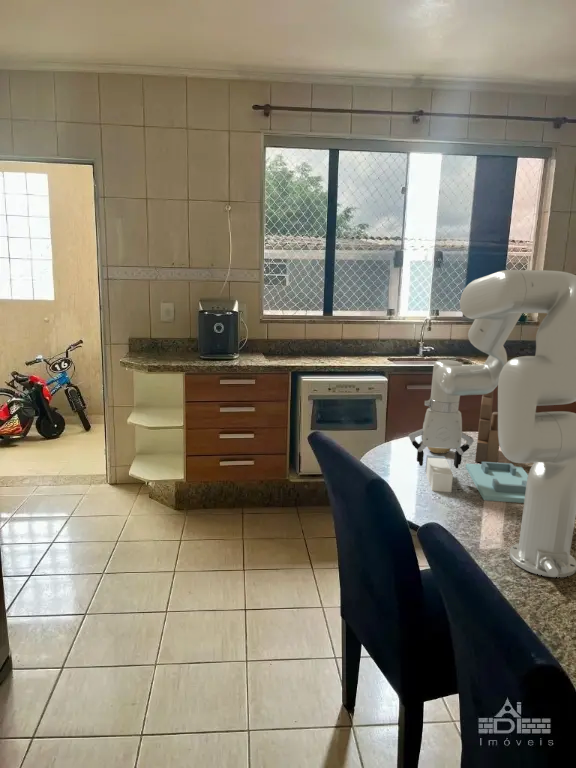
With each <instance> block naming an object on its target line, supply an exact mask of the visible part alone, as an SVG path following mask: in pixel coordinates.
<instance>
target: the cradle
mask: <svg viewBox="0 0 576 768" xmlns="http://www.w3.org/2000/svg"><path fill="white" fill-rule="evenodd" d="M465 470H466V471H467V473H468V474H469V476H470V478H471V480H472V481H473V484H474V485H475V487H476V488H477V490H478V493H479V494H480V496H481V498H482V500H483V501H488V502H489V501H493V502H503V503H504V502H505V503H506V502H507V503H519V504H521V503H522V504H524V500H525V492H526V484H527V478H528V474H529V473H528V472H526V470H524V468H523V466H515V465H514V464H513V462H512V463H510V462H509V463H508V462H482V463H465Z"/></svg>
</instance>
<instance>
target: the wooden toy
mask: <svg viewBox="0 0 576 768" xmlns="http://www.w3.org/2000/svg"><path fill="white" fill-rule="evenodd" d="M494 390H495V389H494ZM494 390H493V391H492V392H490V393H488V394H483V395H482V396H481V401H480V402H481V405H480V413H479V422H478V431H477V440H476V441H477V442H476V449H475V450H476V451H475V463H479V464H482V462H497V463H499V462H498V461H499V453H500V445H499V440H498V411H492V410H493V401H494V392H495V391H494Z"/></svg>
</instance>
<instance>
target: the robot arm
mask: <svg viewBox="0 0 576 768" xmlns="http://www.w3.org/2000/svg"><path fill="white" fill-rule="evenodd" d="M459 308H460V311H461V313H462V315H463V316H464V317H465V318H468V319H471V320H473V322H472V324H471V325H470V328H469V329H468V331H467V332H468V333H467V337H468V340H469V342H470V344H471V345H472V346H473V347H474V348H476V349H477V350H479V351H480V352H482V353H485V354H486V355H488V356H487V358H486V360H485V362H484V363H483V364H482V365H471V364H470V365H463V364H462V363H461V362H459V361H457V360H454V359H439V360H436V361H435V362H434V364H433V367H432V378H431V379H432V380H431V390H430V391H431V392H430V397H429V399H428V400H424V406H426V407H428V408H427V409H426V412H425V414H424V419H423V424H422V428H421V429H417V430H415V431H413V432H410V433H408V438H409V440H410V442H411V444H412V446H413V447H414V448H415V449H416V450H417V453H416V462H418V463H419V464H418V465H419V466H420V467H423V465H424V454H425V452H424V449H426V448H428V447H432V448H446V449H450V450H455V452H454V458H453V466H454V467H455V469H459V466H460V465H461V463H462V458H463V457H462V456H463V455H464V453H465V452H466V451H467V450H469V449H470V447H471V446H472V445H473V442H474V441H475V439H474V438H473V437H471V436H470V435H468V434H466V433H465V432H463V417H462V412H461V411H460V410H459V407H460V398H461V396H477V395H484V394H488V393H490V392H492V391H493V390H495V389H496V388H497V412H498V440H499V450H500V451H501V453H502V455H503V456H504V458H506V459H507V460H508V461H509V462H512V463H516V464H532V465H531V467H530V469H529V472H528V473H527V474H528V478H527V484H526V492H525V500H524V503H523V510H522V517H521V518H522V519H521V523H520V524H521V526H520V533H519V541H518V542H517V543H515V544H513V545H511V547H510V549H509V557H510V559H511V561H512V562H513V563H514V564H515V565H516V566H518V567H519V568H521V569H523V570H525V571H527V572H528V573H529V572H530V573H532V574H534V575H537V574H538V576H541V575H542V577H547V578H556V577H557V578H559V577H560V578H567V576H568V577H570V576H572V575H574V574H575V573H576V558H575V557H573V556H572V554H571V549H572V543H573V542H572V541H573V537H574V528H575V523H576V413H575V412H571V411H564V410H563V411H560V410H559V411H541V412H537V406H539V407H540V406H554V405H555V406H556V405H557V406H558V405H569V404H572V403H574V402H575V403H576V274H573V273H570V272H567V271H560V270H545V269H541V270H540V269H535V270H531V269H528V270H526V269H507V270H506V269H505V270H499V271H496V272H494V273H491V274H488V275H485V276H482V277H479V278H475V279H473V280H472V281H471V282H469V283H468V284H467V285H466V286H465V288H464V289H463V291H462V293H461V296H460V300H459ZM522 314H546V315H545V317H544V318H543V319H542V320H541V323H540V325H539V326H538V329H537V330H536V334H535V355H524V356H518V357H513V358H511V359H509V360H508V354H507V350H506V348H505V347H504V345H505V343H506V341H507V340H508V339H509V336H510V334H511V333H512V332H513V331H514V328H515V326H516V325H517V323H518V321H519V320H520V318H521V316H522ZM493 392H494V391H493ZM417 437H421V441H420V442H419V443H418V441H417V440H416V438H417ZM462 439H463V440H465V443H463V444H462ZM557 578H556V579H557Z"/></svg>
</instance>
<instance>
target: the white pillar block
mask: <svg viewBox="0 0 576 768" xmlns="http://www.w3.org/2000/svg"><path fill="white" fill-rule="evenodd" d="M424 471H425V472H426V473H425V474H426V477H427V481H428V483H429V486H430V489H431V491H432V492H441V493H442V492H445V493H452V488H453V476H454V474H453V472H452V469H451V468H450V465H449V463H448V461H447V459H446V456H444V455H429V454H428V455H426V459H425V470H424Z"/></svg>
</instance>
